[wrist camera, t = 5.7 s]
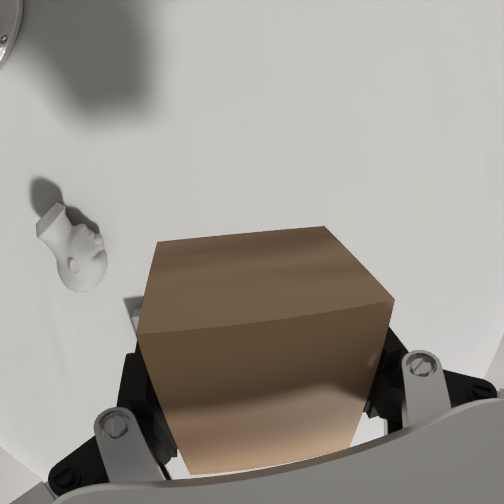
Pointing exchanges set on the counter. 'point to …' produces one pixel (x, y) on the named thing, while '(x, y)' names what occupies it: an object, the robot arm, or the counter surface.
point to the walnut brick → (261, 345)
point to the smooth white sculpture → (73, 250)
